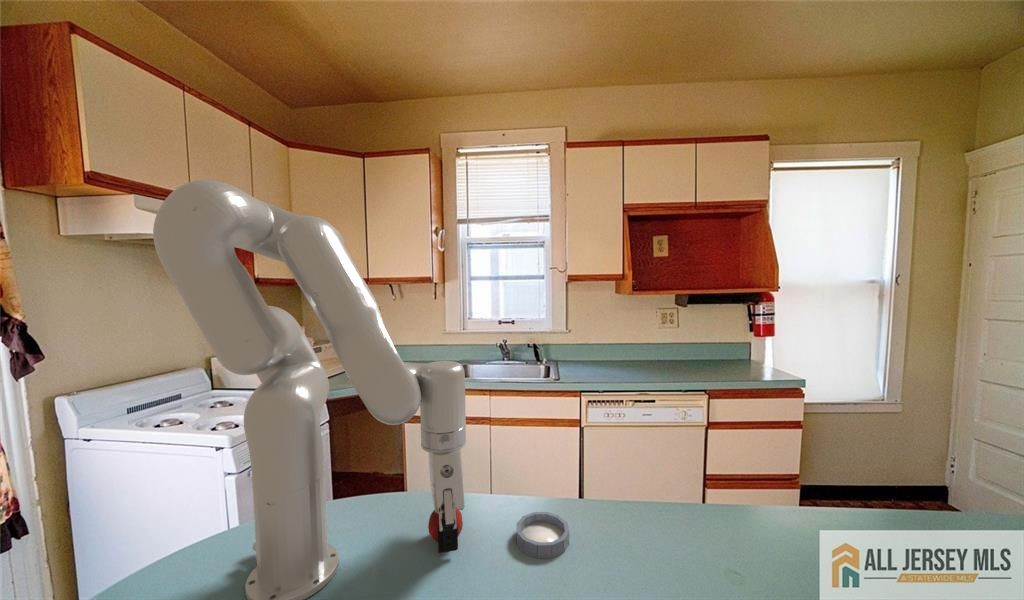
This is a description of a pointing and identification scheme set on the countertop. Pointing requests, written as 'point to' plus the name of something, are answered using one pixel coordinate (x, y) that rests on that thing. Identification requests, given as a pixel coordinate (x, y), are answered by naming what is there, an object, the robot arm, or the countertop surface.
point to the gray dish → (542, 534)
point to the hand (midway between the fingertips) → (445, 536)
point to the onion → (435, 521)
